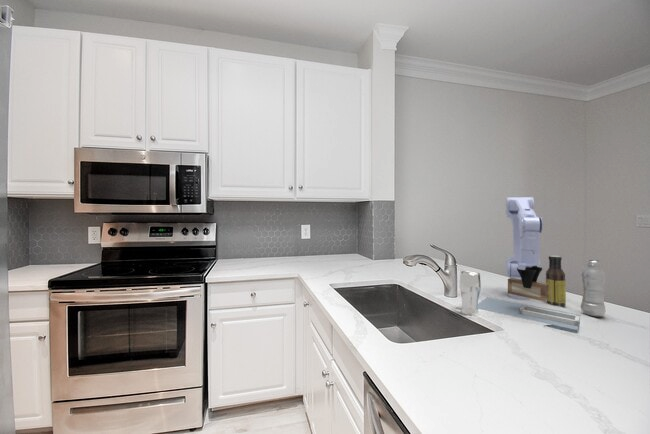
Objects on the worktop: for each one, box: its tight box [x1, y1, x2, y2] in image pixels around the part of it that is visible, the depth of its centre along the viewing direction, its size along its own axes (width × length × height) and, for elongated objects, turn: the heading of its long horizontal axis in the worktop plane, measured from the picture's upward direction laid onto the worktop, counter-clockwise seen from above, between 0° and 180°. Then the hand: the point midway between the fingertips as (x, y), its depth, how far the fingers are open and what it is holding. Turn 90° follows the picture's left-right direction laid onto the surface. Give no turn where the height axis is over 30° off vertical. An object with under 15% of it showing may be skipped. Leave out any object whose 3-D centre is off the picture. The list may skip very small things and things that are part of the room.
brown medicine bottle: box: [545, 255, 567, 308], centre depth 115 cm, size 6×6×20 cm
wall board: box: [478, 296, 582, 334], centre depth 107 cm, size 18×30×2 cm, turn 46°
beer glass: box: [459, 270, 482, 317], centre depth 107 cm, size 7×7×15 cm
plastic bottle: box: [580, 259, 607, 318], centre depth 105 cm, size 6×7×20 cm
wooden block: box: [507, 277, 549, 302], centre depth 106 cm, size 3×12×6 cm, turn 34°
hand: (529, 287), depth 106 cm, fingers closed on wooden block, 3 cm apart
